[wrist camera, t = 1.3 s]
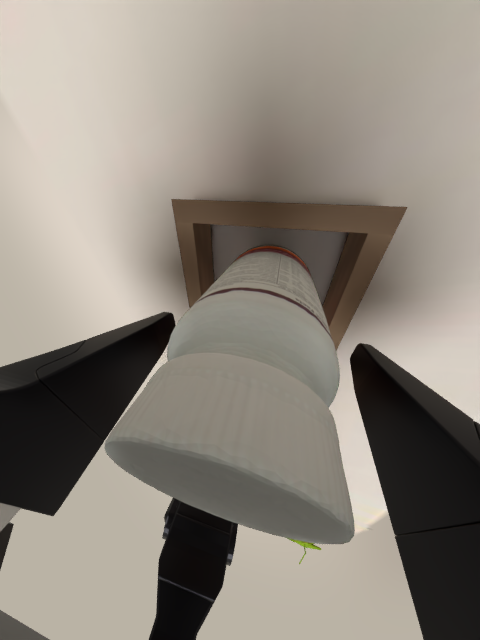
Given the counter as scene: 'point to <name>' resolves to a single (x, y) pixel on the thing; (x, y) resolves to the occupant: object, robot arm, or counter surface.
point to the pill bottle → (247, 406)
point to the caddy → (360, 221)
